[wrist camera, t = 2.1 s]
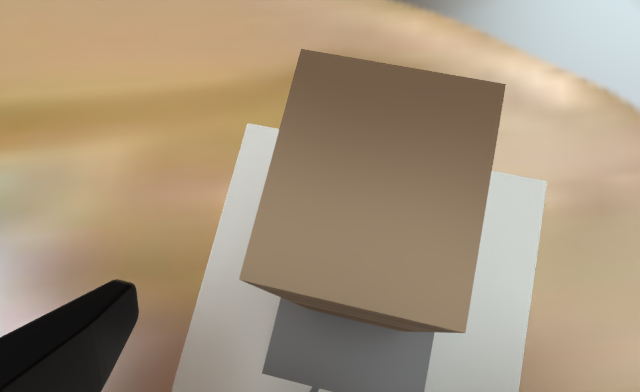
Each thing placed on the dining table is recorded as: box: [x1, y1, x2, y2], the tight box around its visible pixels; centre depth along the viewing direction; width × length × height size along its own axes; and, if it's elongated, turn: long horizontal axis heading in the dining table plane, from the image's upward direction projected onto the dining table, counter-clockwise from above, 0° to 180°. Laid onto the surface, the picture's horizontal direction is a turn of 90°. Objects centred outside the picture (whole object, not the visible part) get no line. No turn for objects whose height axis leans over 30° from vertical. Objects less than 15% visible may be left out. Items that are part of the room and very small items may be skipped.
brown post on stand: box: [239, 49, 506, 392], centre depth 13 cm, size 8×5×12 cm, turn 167°
